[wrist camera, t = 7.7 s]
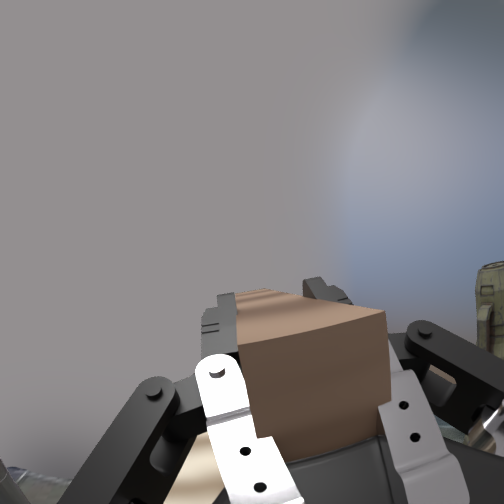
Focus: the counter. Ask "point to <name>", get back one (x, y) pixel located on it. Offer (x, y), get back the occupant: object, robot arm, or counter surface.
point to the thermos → (490, 311)
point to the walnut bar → (312, 370)
